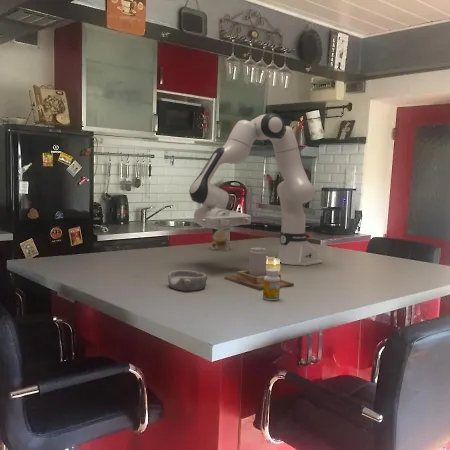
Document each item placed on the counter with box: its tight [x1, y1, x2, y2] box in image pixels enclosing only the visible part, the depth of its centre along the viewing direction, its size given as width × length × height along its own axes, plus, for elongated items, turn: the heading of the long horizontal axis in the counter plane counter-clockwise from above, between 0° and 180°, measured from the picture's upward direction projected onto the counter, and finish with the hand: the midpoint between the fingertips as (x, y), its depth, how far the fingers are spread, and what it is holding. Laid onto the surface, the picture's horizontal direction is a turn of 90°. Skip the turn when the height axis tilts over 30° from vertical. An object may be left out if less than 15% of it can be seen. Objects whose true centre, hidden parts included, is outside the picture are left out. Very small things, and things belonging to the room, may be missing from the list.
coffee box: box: [211, 227, 231, 252], centre depth 270 cm, size 9×6×16 cm
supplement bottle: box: [262, 268, 281, 301], centre depth 168 cm, size 5×5×10 cm
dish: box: [167, 269, 208, 292], centre depth 181 cm, size 14×14×5 cm
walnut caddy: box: [223, 269, 295, 291], centre depth 193 cm, size 16×22×4 cm
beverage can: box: [248, 247, 268, 277], centre depth 192 cm, size 6×6×12 cm
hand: (239, 222), depth 203 cm, fingers open, 8 cm apart
